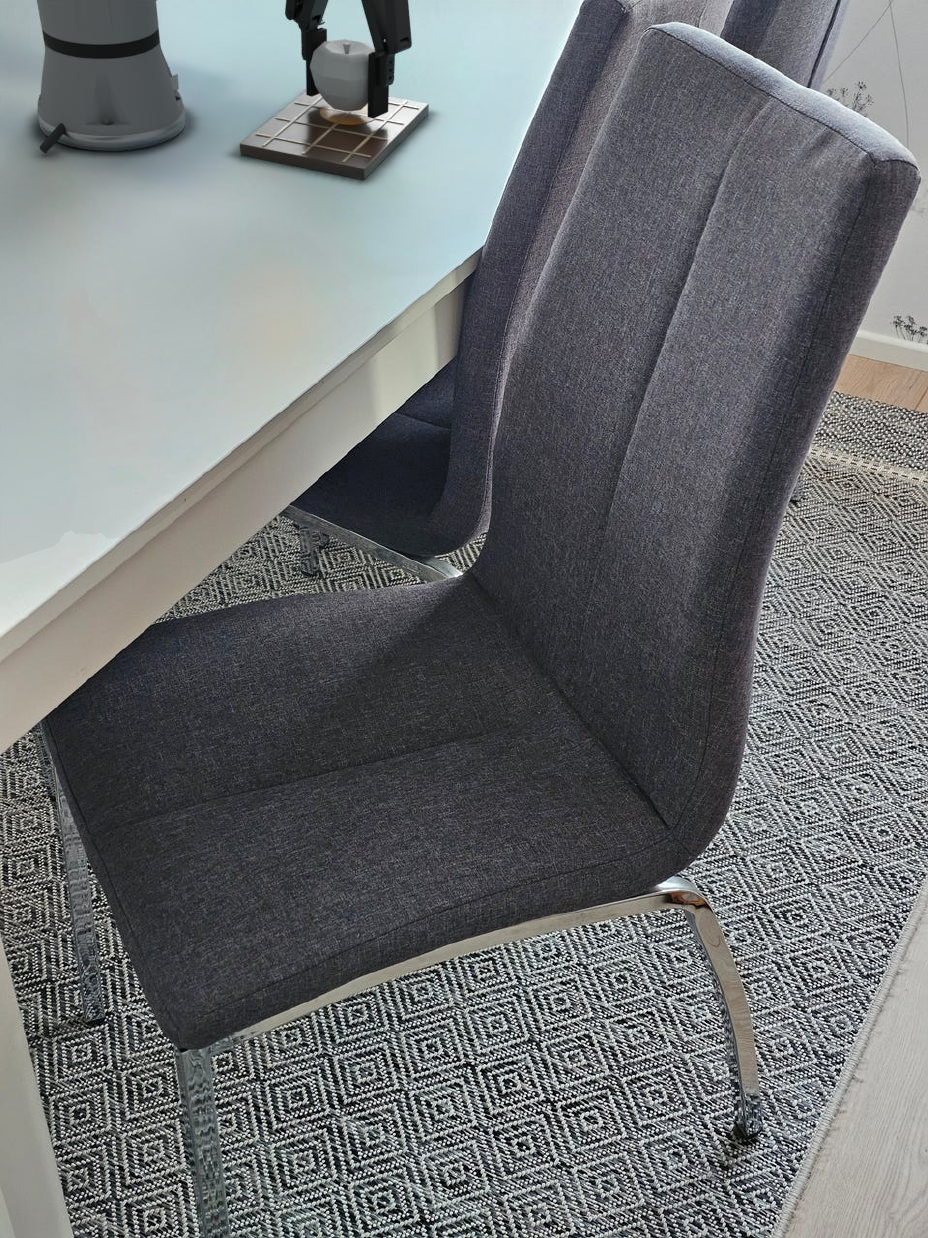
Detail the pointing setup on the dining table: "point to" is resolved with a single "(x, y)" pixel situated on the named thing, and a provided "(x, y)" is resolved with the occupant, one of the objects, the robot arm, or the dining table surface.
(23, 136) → the dining table surface
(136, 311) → the dining table surface
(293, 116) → the board
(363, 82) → the apple
